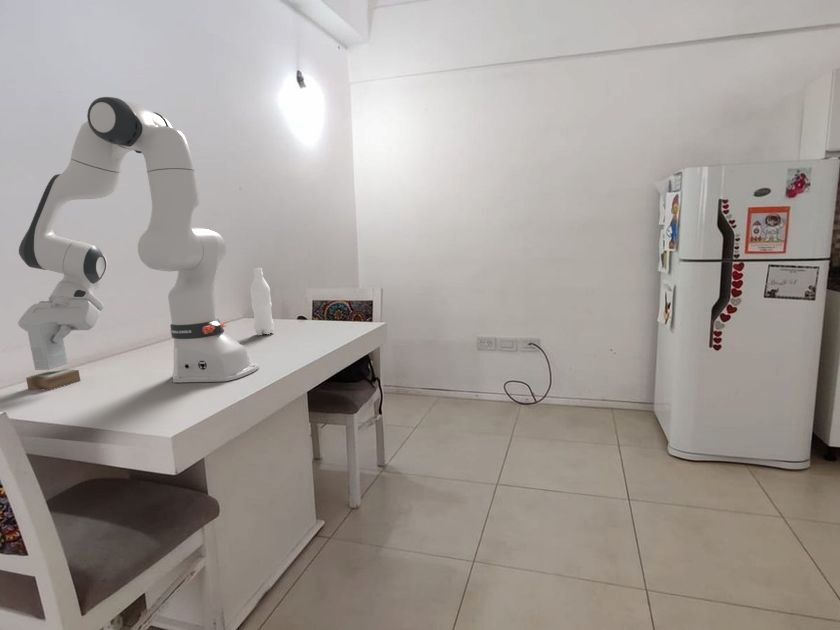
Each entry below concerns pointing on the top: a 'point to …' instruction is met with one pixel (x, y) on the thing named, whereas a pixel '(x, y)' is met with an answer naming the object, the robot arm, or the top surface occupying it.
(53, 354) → the skincare box
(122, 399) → the top surface
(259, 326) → the water bottle
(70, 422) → the top surface
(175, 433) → the top surface
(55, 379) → the walnut block
